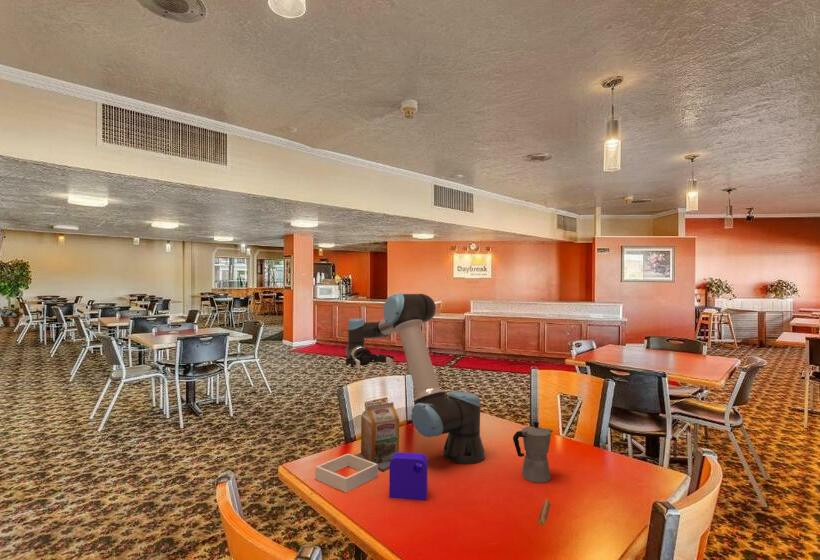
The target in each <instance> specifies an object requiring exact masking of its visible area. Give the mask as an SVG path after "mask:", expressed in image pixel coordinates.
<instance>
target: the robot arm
mask: <svg viewBox="0 0 820 560" xmlns="http://www.w3.org/2000/svg"><path fill="white" fill-rule="evenodd" d="M382 309H383V310H382V312H383V315H382V316H383V319H381V320H379V321H373V322H372V321H371V322H370V321H369V322H366V321H365V319H364V318H350V319H349V320H348V324H347V336H348V337H347V338H348V340H347V347H346V349H345V354H346V356H347V357H346V358H345V365H346V366H350V368H354V367H355V368H357V369H360V368H361V366H367V365H369V364H370V363H371V364H372V363H374V364H375V363H384V364H386V365H388V366H390V367H394V360H395V359H394V358H395V357H394V356H393V355H390V354H387V355H386V354H381V353H377V354H374V353H372V352H371V350H370V349H368V348H366V347H365V339H378V338H379V339H380V338H384V339H385V338H388V337H391V336H392V334H393V333H397V334H398V335H399V337H400V341H401V345H402V348H403V352H404V355H405V359H406V362H407V365H408V369H409V373H410V376H411V380H412V383H413V388H414V390H415V394H416V396H415V398H414V400H413V402H414V405H413V407H412V409H411V421H412V424H413V425H414V428H415V429H416V431H417V432H418V434H421V436H423V437H424V438H425V437H426V438H432V437H439V436H441V435H445V434H447V437H446V440H445V443H444V446H443V449H442V450H443V451H442V453H443V457H444V459H446V460H447V461H450V462H453V463H458V464H463V465H464V464H466V465H467V464H468V465H469V464H471V465H472V464H477V463H480V462H482V461H483V460H484V459H485V458H486V457H485V455H486V454H485V452H486V451H485V448H484V444H483V441H482V437H481V399H480V397H479V396H478V395H477V394H475V393H471V392H466V391H459V390H451V391H449V392H448V394H446V391H445V390H443V389H441V388H440V385H439V383H438V379H437V376H436V372H435V369H434V366H433V363H432V360H431V356H430V354H429V350H428V347H427V344H426V341H425V340H426V339H425V337H424V335H423V331H422V326H423V324H424V323H427V322H429V321H431V320H432V319H433V318H434V317H435V315H436V312H437V307H436V303H435V301H434V299H433V298H432V297H430V296H429V295H427V294H424V293H401V292H399V293H393V294H391V295H389V296H388V297H387V298H386V300H385V302H384V305H383V308H382ZM447 396H448V397H447Z"/></svg>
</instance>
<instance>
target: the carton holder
mask: <svg viewBox="0 0 820 560" xmlns="http://www.w3.org/2000/svg"><path fill="white" fill-rule="evenodd" d="M354 455H355V454H351V453H345V454H343V455H341V456H338V457H336V458H333V459H331V460H329V461H326V462H323V463H321V464H319V465H316V466H315V472H314V473H315V474H314V475H315V477H314V479H315V480H316V481H319V482H320V483H323V484H326V485H327V486H330V487H331V488H335V489H336V490H339V491H341V492H343V493H348V492H350V491H352V490H354V489H356V488H358V487H359V486H362V485H363V484H366V483H368V482H370V481H372V480H374V479H376V478H377V477H378V476H379V470H378V464H376V463H373V462H371V461H368V460H365V459H362V458H359V457H357V456H354ZM348 466H349V467H348ZM347 467H348V468H350V469H351V468H352V469H354V470H356V471H357V472H355V473H353V474H351V475H349V476H347V477H346V476H344V475H341V474H339V473H336V472H338V471H340V469H341V470H342V469H344V468H347Z"/></svg>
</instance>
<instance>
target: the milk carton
mask: <svg viewBox="0 0 820 560" xmlns="http://www.w3.org/2000/svg"><path fill="white" fill-rule="evenodd" d="M394 405H395V403H394V402H390V401H389V402H384V403H375V404H368V405H366V408H365V410H364V411H363V412H362V413H361V415H360V416H361V419H360V421H361V422H360V424H361V426H360V432H361V433H360V453H361V454H362V456H363V457H364V458H365V459H366V460H368V461H371V462H373V463H376V464H378V463H383V462H389V461H391V459H392V457H393V455H394V454H395V453H398V452H400V418H399V415H398V412H397V410H396V408H395V406H394Z"/></svg>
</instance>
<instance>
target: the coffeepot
mask: <svg viewBox="0 0 820 560" xmlns="http://www.w3.org/2000/svg"><path fill="white" fill-rule="evenodd" d="M539 425H540V423H539V421H534V422H533V426H526V427H523V428H521V430H519V431H516V432H515V433H514V435H513V437H512V440H513V444H514V447H515V450H516V454H517V457H519V458H520V457H524V459H523V463H522V464H523V465H522V471H521V475H522V478H524V479H525V480H526V481H528V482H532V483H535V484H536V483H538V484H543V483H548V482H550V480H551V479H552V477H551V476H552V475H551V470H550V465H549V459H548V454H549V449H550V443H551V436H552V433H553V432H554V430H552V429H551V428H547V427H546V428H543V427H539ZM519 438H522V441H523V446H524V451H525V453H523V452H522V451H521V446H520V440H519Z"/></svg>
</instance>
